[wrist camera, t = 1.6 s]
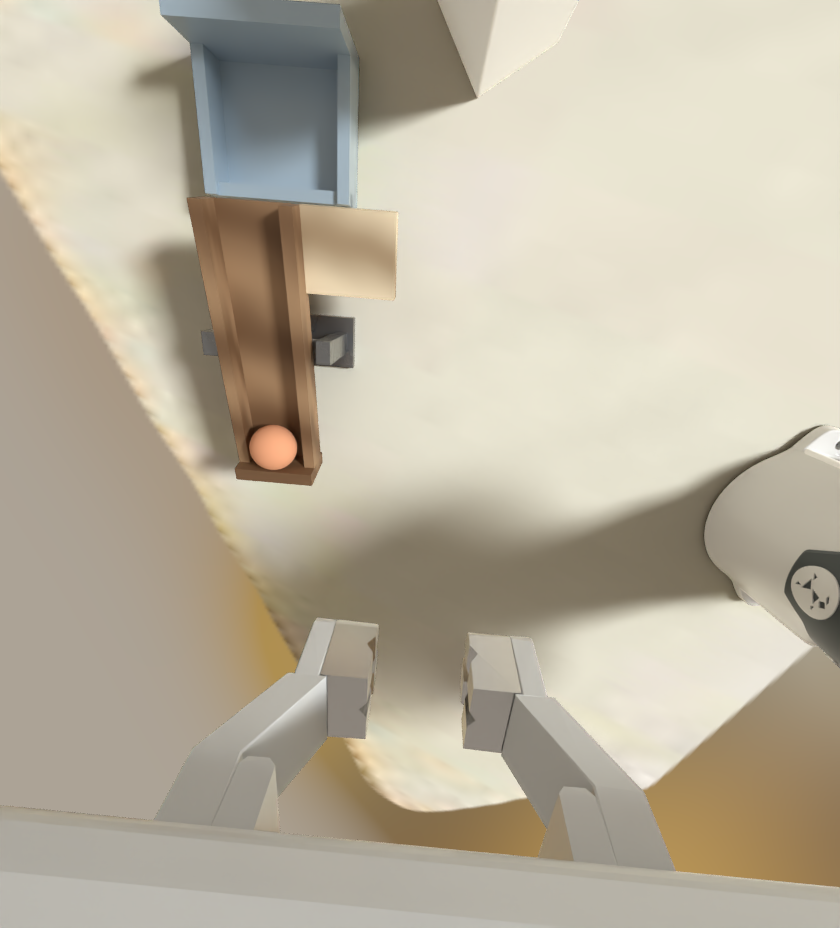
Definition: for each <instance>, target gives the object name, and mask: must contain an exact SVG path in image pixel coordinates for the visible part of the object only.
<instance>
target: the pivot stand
mask: <svg viewBox="0 0 840 928" xmlns="http://www.w3.org/2000/svg"><path fill="white" fill-rule="evenodd" d="M310 320H311V334H312V339H319V340H316V353H313V361H314V365H326V366H338V367H349V368H353V367H354V347H355V318H354V317H342V316H330V315H318V314H310ZM201 335H202V343H203V352H204V355H214V356H218V351H217V346H216V341H215V336H214V331H213V329H210V330H205V331H201Z"/></svg>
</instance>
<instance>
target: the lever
mask: <svg viewBox="0 0 840 928" xmlns="http://www.w3.org/2000/svg"><path fill="white" fill-rule="evenodd" d="M187 203H188V207H189V212H190V217H191V222H192V227H193V232H194V237H195V242H196V247H197V252H198V257H199V262H200V267H201V272H202V277H203V282H204V287H205V292H206V297H207V302H208V307H209V312H210V317H211V321H212V326H213V331H214V336H215V341H216V346H217V351H218V356H219V361H220V366H221V371H222V376H223V381H224V386H225V391H226V396H227V401H228V406H229V411H230V416H231V421H232V426H233V431H234V435H235V440H236V445H237V450H238V455H239V460H240V462H239V464H238V465H237V466H236V468H235V473H236V478H237V479H241V480H252V481H263V482H275V483H286V484H297V485H309V486H312V484H313V482H314V480H315V478H316V475H317V473H318V471H319V469H320V466H321V464H322V452H320V441H319V428H318V414H317V401H316V387H315V374H314V361H313V353H316V340H319V339H312V334H311V320H310V307H309V294H320V295H332V296H344V297H356V298H368V299H380V300H392V301H394V299H395V297H396V266H397V236H398V212H395V211H382V210H370V209H358V208H345V207H333V206H321V205H308V204H291V203H282V202H270V201H258V200H245V199H233V198H221V197H218V198H215V197H192V198H187ZM267 425H279V426H282V427H284V428H286V429H288V430H289V431H290V432H291V433H292V434H293V436H294V437H295V439H296V442H297V453H296V456H295V458H294V460H293V461H292V462H291V463H290V464H289V465H288V466H286V467H284V468H282V469H278V470H269V469H265V468H263V467H261V466H259V465H258V464H257V463H256V462H255V461H254V460H253V458H252V456H251V454H250V449H249V446H250V440H251V438H252V436H253V435H254V433H255V432H256V431H257V430H258V429H260V428H262V427H264V426H267Z"/></svg>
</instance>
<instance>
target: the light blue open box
mask: <svg viewBox="0 0 840 928" xmlns="http://www.w3.org/2000/svg"><path fill="white" fill-rule="evenodd" d="M159 4H160V13H161V15H162V16H163V17H164V18H165V19H166V20H167V21H168V22H169V23H170V24H171V25H172V26H173V27H174V28H175V29H176V30H177V31H178V32H179V33H180V34H181V35H182V36H183V37H184V38H185V39H186V40H187V41H188V42H189V43H190V50H191V60H192V69H193V79H194V89H195V99H196V109H197V118H198V128H199V138H200V148H201V158H202V168H203V177H204V187H205V193H206V194H209V195H211V196H214V197H216V198H218V197H221V198H233V199H245V200H258V201H270V202H282V203H291V204H308V205H321V206H333V207H345V208H357V163H358V102H359V56H358V53H357V50H356V48H355V45H354V42H353V39H352V36H351V34H350V31H349V28H348V25H347V22H346V20H345V17H344V14H343V11H342V8H341V6H340V4H328V3H315V2H302V1H289V0H159Z"/></svg>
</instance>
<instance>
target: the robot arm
mask: <svg viewBox="0 0 840 928" xmlns="http://www.w3.org/2000/svg"><path fill="white" fill-rule="evenodd" d="M838 442H839V443H838ZM837 443H838V445H836V444H837ZM704 540H705V546H706V550H707V553H708V555H709V557H710V559H711V560H712V562H713V563H714V564H715V565H716V566H717V567H718V568H719V569H720V570H721V571H722V572H723V573H725V574H726V575H727V576H728V577H729V578H730V579H731V580H732V582H733V585H734V588H735V591H736V593H737V595H738V596H739V598H741V599H742V600H743V601H744V602H745V603H747V604H748V605H752V606H758V605H760V606H762V607H763V608H764V609H765V610H766V611H767V612H769V613H770V614H771V615H772V616H773V617H775V618H776V619H777V620H778V621H779V622H781V623H782V624H783V625H784V626H785V627H787V628H788V629H789V630H790V631H792V632H793V633H794V634H795V635H796V636H798V637H799V638H800V639H801V640H803V641H804V642H805V643H807V644H809V645H811V646H819V647H820V648H821V649H822V650H823V651H824V652H825V653H826V654H825V655H826V656H827V657H828V658H830V660H831V661H832V662H833V663H835V664H836V665H837V666H838V667H839V668H840V428H837V427H834V426H829V425H824V426H820V427H818V428H816V429H814V430H813V431H811V432H810V433H808V434H807V435H806V436H804V437H803V438H802V439H801V440H799V441H798V442H797V443H796V444H795V445H793V446H792V447H791V448H790V449H788V450H786V451H784V452H782V453H780V454H777V455H775V456H773V457H770V458H768V459H766V460H763V461H761V462H759V463H757V464H756V465H754V466H752V467H751V468H749V469H747V470H746V471H744V472H743V473H742V474H740V475H739V476H738V477H737V478H735V479H734V480H733V481H732V482H731V483H730V484H729V485H728V486H727V487H726V488H725V489H724V490H723V491H722V493H721V494H720V495H719V497H718V498H717V500H716V501H715V503H714V504H713V506H712V508H711V510H710V512H709V515H708V518H707V521H706V525H705V532H704ZM378 637H379V624H373V623H365V622H356V621H348V620H339V619H338V620H335V619H327V618H319V617H317V618H316V620H315V621H314V622H313V625H312V628H311V630H310V633H309V636H308V638H307V641H306V643H305V646H304V649H303V651H302V654H301V657H300V659H299V662H298V665H297V667H296V670H295V673H287V674H286V675H284V676H283V677H282V678H280V679H279V680H278V681H277V682H275V683H274V684H273V685H272V686H270V687H269V688H268V689H266V690H265V691H264V692H263V693H261V694H260V695H259V696H258V697H256V698H255V699H254V700H253V701H251V702H250V703H249V704H248V705H246V706H245V707H244V708H242V709H241V710H240V711H239V712H237V713H236V714H235V715H234V716H232V717H231V718H230V719H229V720H227V721H226V722H225V723H223V724H222V725H221V726H220V727H218V728H217V729H216V730H215V731H213V732H212V733H211V734H210V735H208V736H207V737H206V738H205V739H203V740H202V741H201V742H199V743H198V744H197V745H196V746H194V747H193V748H192V750H191V752H190V754H189V755H188V757H187V759H186V761H185V763H184V765H183V766H182V768H181V770H180V772H179V774H178V776H177V778H176V780H175V781H174V784H173V785H172V787H171V789H170V790H169V793H168V794H167V796H166V798H165V800H164V802H163V803H162V805H161V807H160V809H159V811H158V813H157V815H156V816H155V818H154V820H145V819H136V818H126V817H116V816H106V815H94V814H85V813H75V812H65V811H55V810H45V809H35V808H25V807H14V806H4V805H0V928H840V887H829V886H820V885H810V884H800V883H790V882H779V881H769V880H759V879H749V878H738V877H728V876H718V875H708V874H698V873H688V872H677V871H676V870H675V868H674V865H673V863H672V860H671V858H670V855H669V853H668V850H667V848H666V845H665V843H664V840H663V838H662V836H661V833H660V830H659V828H658V825H657V823H656V820H655V818H654V815H653V813H652V810H651V808H650V805H649V803H648V800H647V798H646V795H645V793H644V792H643V791H642V789H641V788H640V787H639V786H638V785H637V784H636V783H635V782H634V781H633V780H632V779H631V778H630V777H629V776H628V775H627V774H626V773H625V772H624V771H623V769H622V768H621V767H620V766H619V765H618V764H617V763H616V762H615V761H614V760H613V759H612V758H611V757H610V756H609V755H608V754H607V753H606V752H605V751H604V750H603V748H602V747H601V746H600V745H599V744H598V743H597V742H596V741H595V740H594V739H593V738H592V737H591V736H590V735H589V734H588V733H587V732H586V731H585V730H584V728H583V727H582V726H581V725H580V724H579V723H578V722H577V721H576V720H575V719H574V718H573V717H572V716H571V715H570V714H569V713H568V712H567V711H566V710H565V708H564V707H563V706H562V705H561V704H560V703H559V702H558V701H557V700H556V699H555V698H552V697H548V696H547V693H546V689H545V685H544V681H543V678H542V674H541V670H540V666H539V663H538V659H537V655H536V651H535V647H534V644H533V640H532V639H531V638H530V637H522V636H507V635H495V634H483V633H471V632H467V635H466V640H465V657H464V658H463V659H462V666H461V677H460V698H461V703H462V704H463V705H464V707H463V713H462V737H463V748H465V749H473V750H481V751H489V752H496V753H502V754H501V756H502V757H503V759H504V760H505V762H506V764H507V765H508V767H509V769H510V770H511V772H512V773H513V775H514V777H515V778H516V780H517V782H518V783H519V785H520V786H521V788H522V790H523V791H524V793H525V794H526V796H527V798H528V799H529V801H530V803H531V804H532V806H533V807H534V809H535V811H536V812H537V814H538V816H539V817H540V819H541V820H542V822H543V824H544V825H545V827H546V828H547V831H546V834H545V837H544V840H543V843H542V846H541V849H540V852H539V855H538V858H534V857H523V856H514V855H504V854H493V853H483V852H473V851H462V850H451V849H441V848H431V847H422V846H411V845H401V844H391V843H381V842H370V841H359V840H350V839H340V838H329V837H318V836H309V835H298V834H287V833H280V822H279V810H278V797H279V796H280V794H281V793H282V792H283V791H284V790H285V788H286V787H287V786H288V785H289V784H290V783H291V781H292V780H293V779H294V778H295V777H296V775H297V774H298V773H299V772H300V771H301V769H302V768H303V767H304V766H305V765H306V763H307V762H308V761H309V760H310V759H311V757H312V756H313V755H314V754H315V753H316V751H317V750H318V749H319V748H320V747H321V745H322V744H323V743H324V742H325V741H326V739H327V736H329V737H344V738H359V739H365V738H366V732H367V726H368V720H369V715H370V705H371V695H372V694H373V690H374V684H375V676H376V669H377V657H378V650H377V644H378Z"/></svg>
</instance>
